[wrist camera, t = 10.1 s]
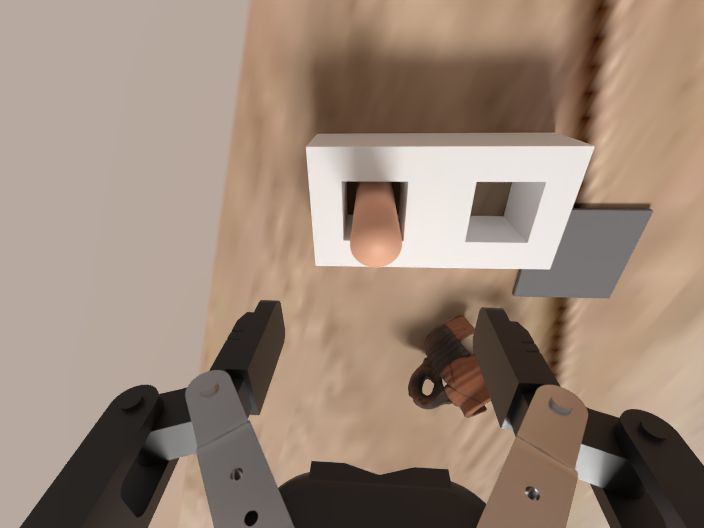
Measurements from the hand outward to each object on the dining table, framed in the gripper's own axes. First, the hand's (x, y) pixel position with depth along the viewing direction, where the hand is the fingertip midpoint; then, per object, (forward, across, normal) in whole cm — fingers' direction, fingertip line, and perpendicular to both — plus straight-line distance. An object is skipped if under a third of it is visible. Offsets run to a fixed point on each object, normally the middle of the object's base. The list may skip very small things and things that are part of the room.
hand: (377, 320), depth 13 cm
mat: (+17, -18, +6) cm, 25 cm away
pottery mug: (+17, -10, +19) cm, 27 cm away
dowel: (+16, 0, 0) cm, 16 cm away
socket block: (+16, -4, 0) cm, 17 cm away
